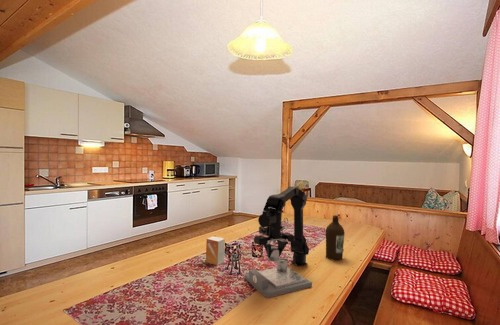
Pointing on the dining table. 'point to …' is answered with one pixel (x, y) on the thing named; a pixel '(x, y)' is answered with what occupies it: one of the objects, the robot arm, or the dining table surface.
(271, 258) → the steel spacer
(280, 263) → the cylinder
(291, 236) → the robot arm
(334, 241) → the olive oil
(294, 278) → the kitchen scale
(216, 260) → the small box
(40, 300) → the dining table surface
